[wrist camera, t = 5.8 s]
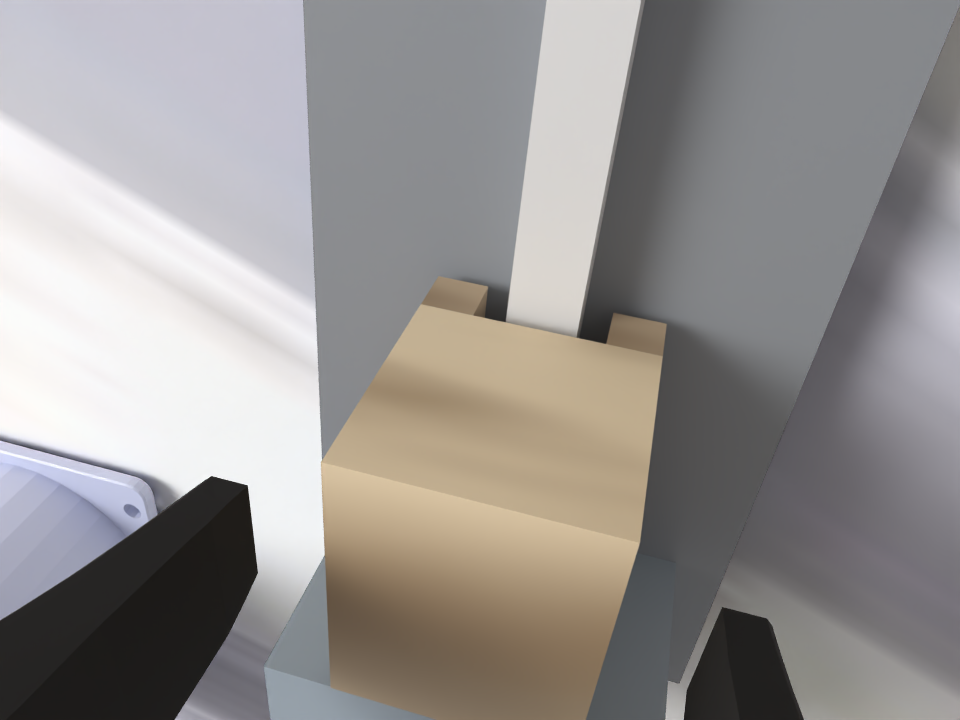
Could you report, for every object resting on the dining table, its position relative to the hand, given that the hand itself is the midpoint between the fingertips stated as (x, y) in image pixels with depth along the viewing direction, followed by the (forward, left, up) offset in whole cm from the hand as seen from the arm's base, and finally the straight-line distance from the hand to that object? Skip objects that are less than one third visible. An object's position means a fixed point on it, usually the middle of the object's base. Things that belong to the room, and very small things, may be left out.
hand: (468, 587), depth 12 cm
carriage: (0, 0, -4) cm, 4 cm away
